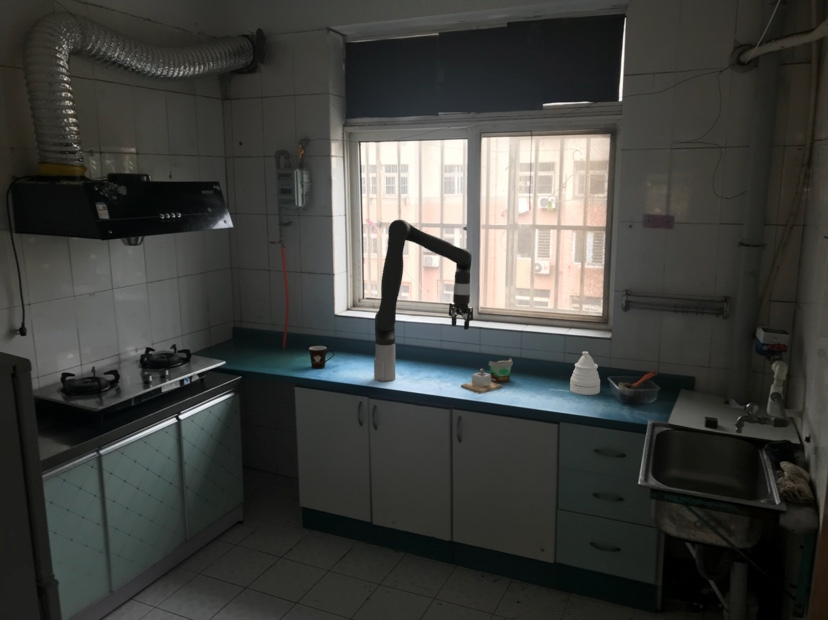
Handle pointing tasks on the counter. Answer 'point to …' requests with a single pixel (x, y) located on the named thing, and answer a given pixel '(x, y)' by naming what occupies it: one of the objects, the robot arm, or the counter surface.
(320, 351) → the coffee mug
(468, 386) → the block
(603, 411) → the counter surface
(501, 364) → the food container
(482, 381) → the grey square sleeve
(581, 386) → the honey pot
